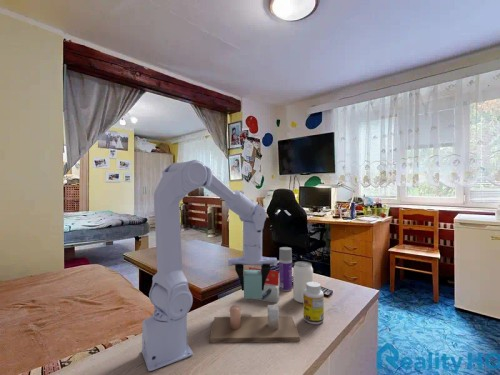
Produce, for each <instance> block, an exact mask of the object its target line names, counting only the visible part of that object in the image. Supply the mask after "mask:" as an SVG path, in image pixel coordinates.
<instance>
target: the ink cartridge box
mask: <svg viewBox="0 0 500 375" xmlns="http://www.w3.org/2000/svg"><path fill="white" fill-rule="evenodd" d="M248 270H261V268H256V267H248ZM252 299H253V300H258V301H264V302H269V303H275V304H278V303H279V300H280V289H279V271H278V270H271V269H270V272H269V274H268V276H267V278H266V281H265V285H264V290H262V298H252Z"/></svg>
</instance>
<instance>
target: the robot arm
mask: <svg viewBox="0 0 500 375" xmlns="http://www.w3.org/2000/svg"><path fill="white" fill-rule="evenodd" d="M161 172H162V173H161V174H162V176H161V178H160V180H159V182H158V184H157V186H156V189H155V190H154V192H153V208H154V230H155V250H156V251H155V252H156V268H157V272H156V273H155V274H154V275H153V276H152V279H151V280H152V283H151V287H150V290H149V293H148V296H149V298H148V299H149V301H150V303H151V304H152V305H154V306H153V314H152V315H151V316H149V317H147V318H145V319H143V320H142V324H141V325H142V326H141V329H142V330H141V331H142V332H141V335H142V337H141V338H142V340H141V343H142V344H141V345H142V346H141V347H142V348H141V354H142V356H143V360H144V362H145V364H146V367H147V370H148V372H151V371H154V370H157V369H160V368H162V367H165V366H168V365H170V364H173V363H175V362H178V361H182V360H184V359H187V358H189V357H192V356H193V355H194V351H193V350H192V348H191V347H190V345H189V344H188V340H187V338H188V336H187V335H188V334H187V332H188V328H187V327H188V326H187V325H188V324H187V323H188V321H187V320H188V319H187V318H188V313H189V311H190V310H191V308H192V306H193V301H194V298H193V294H192V292H191V291H190V289H189V288H190V287H189V281H188V279H187V277H186V275H185V273H184V271H183V259H182V239H181V238H182V236H181V213H180V212H181V210H180V202H181V201H182V200H183V199H184V198H185V197H186V196H187V195H188V194H189V193H191V192H193V191H195V190H197V189H199V188H201V187H202V188H204V189H206V190H207V191H209V192H210V193H212V194H214V195H215V196H217V197H219V198H220V199H221V200H223V201H224V204H225V207H226V208H227V209H228V210H230V211H231V212H233V213H234V214H236V215H237V216H238V218H239V220H240V222H242V224H243V227H242V229H243V231H242V232H243V233H242V234H243V237H242V239H243V241H242V242H243V244H242V249H243V253H242V256H239V257H229V258H228V267H233V266H235V267H234V270H235V273H236V275H237V278H238V279H239V283H240V287H241V291H243V292H244V270H245V269H244V266H260V269H261V274H262V290H264V285H265V281H266V278H267V276H268V274H269V272H270V270H271V266H273V267H274V266H275V267H277V266H278V259H277V257H267V256H263V230H264V226H265V222H266V220H267V216H268V215H267V213H266V209H265V208H264V207H263V206H262V205H261V204H256V203H255V202H254V200H253V199H250V198H248V197H247V196H246V195H245V192H244V191H243V190H237V189H235V190H232V189H231V188H230V187H229V186H227V185H226V183H224V181H222V180H221V178H219V177H218V176H216V175H215V174H214V173H213V171H212V169H211V168H210V167H209V166H207V165H205V164H204V163H203V162H202V161H200V160H197V159H191V160H189V161H182V162H173V163H171V164H170V165H168V166H167V167H166V168H164V169H163V170H162V171H161Z"/></svg>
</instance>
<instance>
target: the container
mask: <svg viewBox="0 0 500 375" xmlns="http://www.w3.org/2000/svg"><path fill="white" fill-rule="evenodd" d="M292 250H293V249H292V247H288V246H282V247H279V253H278V254H279V259H278V260H279V261H278V265H279V266H278V270H279V284H278V285H279V291H283V292H291V291H292V290H293V257H292V256H293V253H292V252H293V251H292Z"/></svg>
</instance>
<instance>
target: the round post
mask: <svg viewBox="0 0 500 375" xmlns="http://www.w3.org/2000/svg"><path fill="white" fill-rule="evenodd" d="M241 312H242V309H241V306H240V305H238V304H234V305H231V306H230V307H229V317H230V328H231V329H234V330H236V329H239V328H240V327H241V317H242V316H241V314H242V313H241Z"/></svg>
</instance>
